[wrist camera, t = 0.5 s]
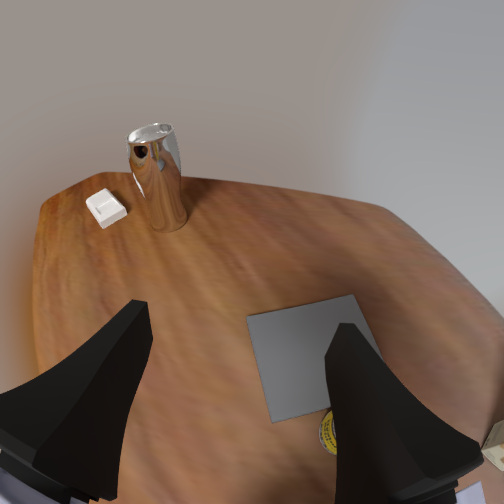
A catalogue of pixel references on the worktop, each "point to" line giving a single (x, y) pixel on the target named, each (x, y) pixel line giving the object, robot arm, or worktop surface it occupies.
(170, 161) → the beer glass
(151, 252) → the worktop surface
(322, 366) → the mat
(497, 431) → the skincare box
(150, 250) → the worktop surface
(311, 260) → the worktop surface
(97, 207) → the soap bar
